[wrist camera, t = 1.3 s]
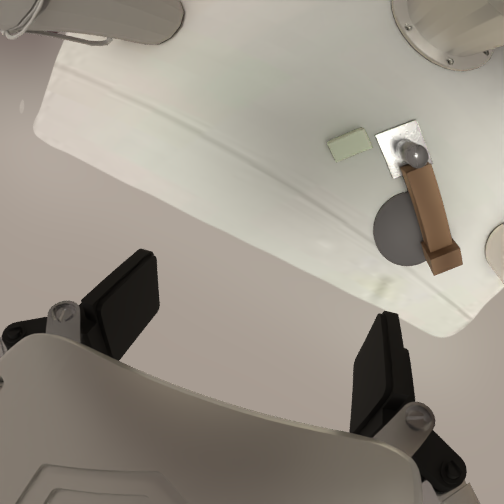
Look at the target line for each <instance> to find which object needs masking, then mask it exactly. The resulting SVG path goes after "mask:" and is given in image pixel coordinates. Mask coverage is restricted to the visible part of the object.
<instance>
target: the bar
mask: <svg viewBox="0 0 504 504" xmlns="http://www.w3.org/2000/svg"><path fill="white" fill-rule="evenodd" d="M400 169H401V172H402V174H403V177H404V180H405V183H406V186H407V188H408V191H409V194H410V197H411V200H412V203H413V206H414V210H415V213H416V216H417V219H418V223H419V226H420V230H421V233H422V237H423V240H424V241H422V242H421V245H422V249H423V253H424V257H425V259H426V261H427V263H428V265H429V267H430V269H431V271H432V273H433V275H434V276H435V275H437V274H440V273H443V272H445V271H448V270H450V269H453V268H455V267H458V266H460V265H463V262H462V256H461V251H460V248H459V246H458V245H457V244H456V242H455V241H454V240H453V238H452V237H451V234H450V229H449V225H448V221H447V217H446V213H445V209H444V205H443V202H442V198H441V194H440V191H439V188H438V184H437V181H436V178H435V175H434V172H433V168H432V165H431V164H430V163H429V162H427V164H426V165H425V166H424V167H422V168H414V167H412V166H411V165H410V164H408V165H405V166H403V167H400Z"/></svg>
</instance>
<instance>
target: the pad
mask: <svg viewBox="0 0 504 504" xmlns="http://www.w3.org/2000/svg"><path fill="white" fill-rule="evenodd" d="M374 239H375V242H376V245H377V248H378V250H379V251H380V253H381V254H382V255H383V256H384V257H385V258H386V259H387V260H389V261H390V262H392V263H394V264H397V265H402V266H413V265H417V264H420V263H423V262H425V261H426V259H425V257H424V253H423V249H422V245H421V242H422V241H424V240H423V237H422V233H421V230H420V226H419V223H418V219H417V216H416V213H415V210H414V206H413V203H412V200H411V197H410V194H409V192H405V193H401V194H398V195H396V196H394V197H392V198H391V199H389V200H388V201H387V202H386V203H385V204H384V205H383V206H382V207H381V209H380V210H379V212H378V214H377V216H376V219H375V222H374Z"/></svg>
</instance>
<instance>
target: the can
mask: <svg viewBox="0 0 504 504" xmlns="http://www.w3.org/2000/svg"><path fill="white" fill-rule="evenodd" d="M485 254H486V259H487V261H488V263H489V265H490V266H491V267H492V269H493V270H494V271H495V273H496V274H497V276H498V277H499V278H500V280H501V281H502V282H503V284H504V224H502V225H500V226H498V227H497V228H496V229H495V230H494V231H493V232H492V233H491V235H490V237H489V239H488V241H487V244H486V250H485Z"/></svg>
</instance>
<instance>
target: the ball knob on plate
mask: <svg viewBox="0 0 504 504" xmlns="http://www.w3.org/2000/svg"><path fill="white" fill-rule="evenodd" d="M375 137H376V139H377V141H378V144H379V146H380V148H381V151H382V153H383V155H384V158H385V160H386V163H387V165H388V168H389V170H390V173H391V175H392V178H393V179H394V178H397V177H400V176H402V175H403V174H402V172H401V169H400V167H403V166H405V165H408V164H410V165H411V166H412V167H414V168H422V167H424V166H425V165H426V164H427V162H429V163H430V164H433V162H432V159H431V157H430V154H429V151H428V148H427V145H426V143H425V140H424V137H423V135H422V132H421V130H420V127H419V125H418V122H417V120H413V121H410V122H407V123H405V124H402V125H399V126H397V127H394V128H392V129H389V130H386V131H384V132H381V133H379V134H376V135H375Z"/></svg>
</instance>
